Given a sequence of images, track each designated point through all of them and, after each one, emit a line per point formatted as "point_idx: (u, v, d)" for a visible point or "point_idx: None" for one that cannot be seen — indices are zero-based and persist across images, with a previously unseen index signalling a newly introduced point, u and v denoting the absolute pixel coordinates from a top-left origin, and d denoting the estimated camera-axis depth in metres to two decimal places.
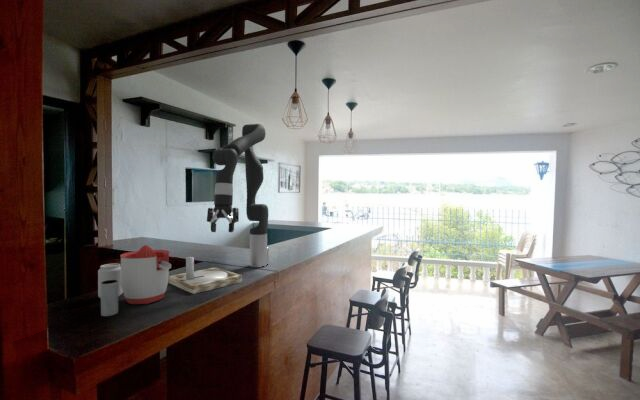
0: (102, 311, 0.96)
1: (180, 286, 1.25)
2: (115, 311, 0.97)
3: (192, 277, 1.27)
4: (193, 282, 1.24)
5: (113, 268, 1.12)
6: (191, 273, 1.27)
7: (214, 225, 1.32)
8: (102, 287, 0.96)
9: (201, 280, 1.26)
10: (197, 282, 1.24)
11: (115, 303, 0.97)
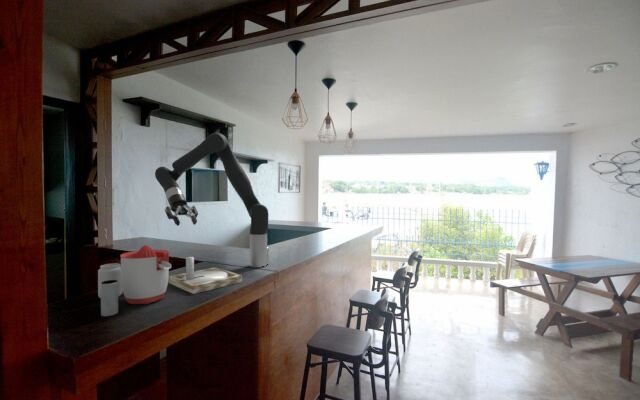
0: (102, 311, 0.96)
1: (180, 286, 1.25)
2: (115, 311, 0.97)
3: (192, 277, 1.27)
4: (193, 282, 1.24)
5: (113, 268, 1.12)
6: (191, 273, 1.27)
7: (192, 219, 1.46)
8: (102, 287, 0.96)
9: (201, 280, 1.26)
10: (197, 282, 1.24)
11: (115, 303, 0.97)
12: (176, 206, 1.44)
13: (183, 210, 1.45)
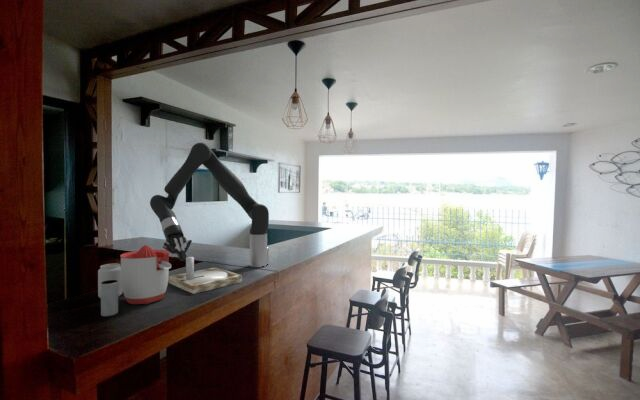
0: (102, 311, 0.96)
1: (180, 286, 1.25)
2: (115, 311, 0.97)
3: (192, 277, 1.27)
4: (193, 282, 1.24)
5: (113, 268, 1.12)
6: (191, 273, 1.27)
7: None
8: (102, 287, 0.96)
9: (201, 280, 1.26)
10: (197, 282, 1.24)
11: (115, 303, 0.97)
12: (172, 238, 1.36)
13: (176, 241, 1.37)
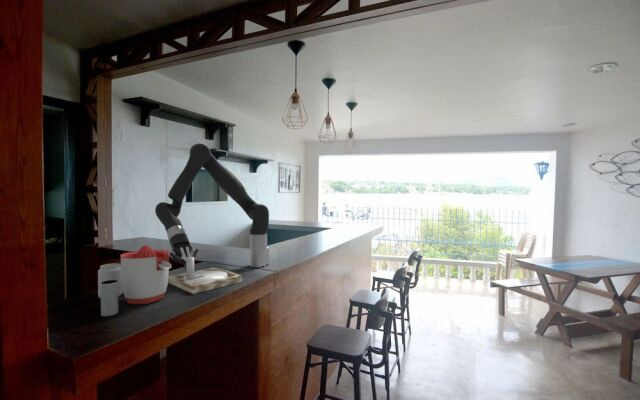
0: (102, 311, 0.96)
1: (180, 286, 1.25)
2: (115, 311, 0.97)
3: (192, 277, 1.27)
4: (194, 282, 1.24)
5: (113, 268, 1.12)
6: (191, 273, 1.27)
7: None
8: (102, 287, 0.96)
9: (202, 280, 1.26)
10: (198, 282, 1.24)
11: (115, 303, 0.97)
12: (178, 248, 1.33)
13: None
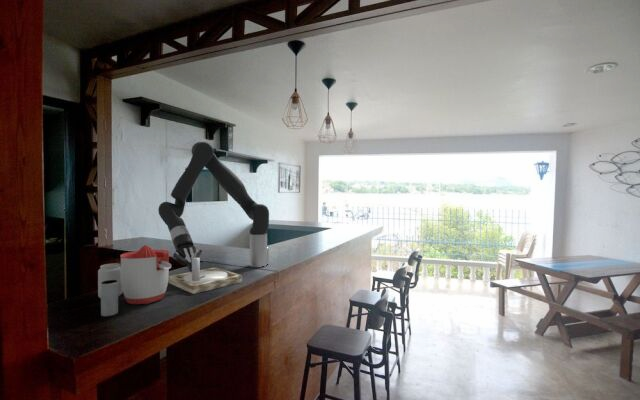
0: (102, 311, 0.96)
1: (180, 286, 1.25)
2: (115, 311, 0.97)
3: (199, 278, 1.26)
4: (204, 282, 1.24)
5: (113, 268, 1.12)
6: (198, 274, 1.26)
7: (191, 265, 1.29)
8: (102, 287, 0.96)
9: (211, 279, 1.27)
10: None
11: (115, 303, 0.97)
12: (181, 248, 1.31)
13: (186, 251, 1.31)
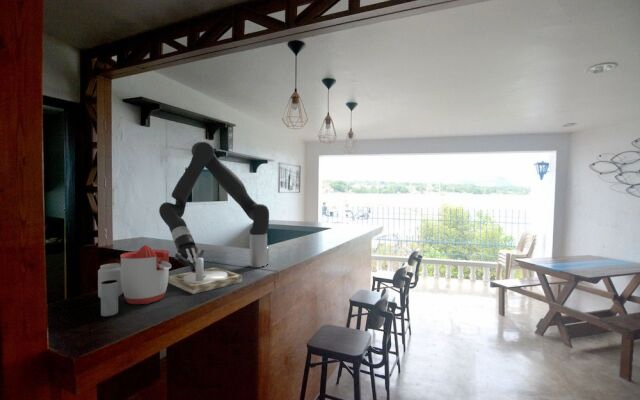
0: (102, 311, 0.96)
1: (180, 286, 1.25)
2: (115, 311, 0.97)
3: (203, 278, 1.26)
4: None
5: (113, 268, 1.12)
6: (203, 274, 1.26)
7: None
8: (102, 287, 0.96)
9: (215, 278, 1.28)
10: None
11: (115, 303, 0.97)
12: (183, 249, 1.30)
13: None
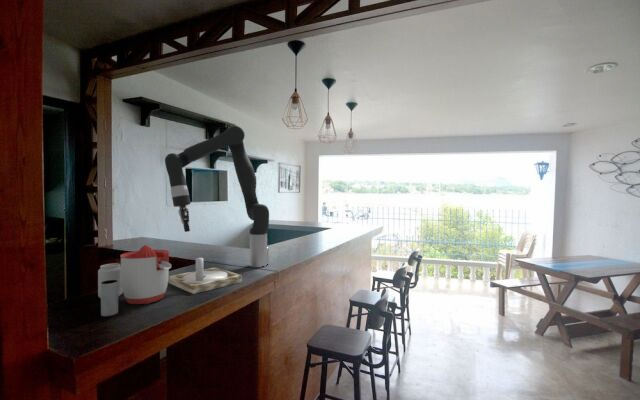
0: (102, 311, 0.96)
1: (180, 286, 1.25)
2: (115, 311, 0.97)
3: (203, 278, 1.26)
4: None
5: (113, 268, 1.12)
6: (203, 274, 1.26)
7: None
8: (102, 287, 0.96)
9: (215, 278, 1.28)
10: None
11: (115, 303, 0.97)
12: None
13: None
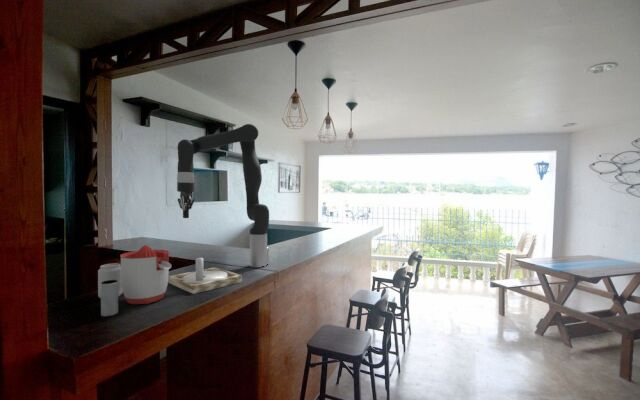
0: (102, 311, 0.96)
1: (180, 286, 1.25)
2: (115, 311, 0.97)
3: (203, 278, 1.26)
4: None
5: (113, 268, 1.12)
6: (203, 274, 1.26)
7: None
8: (102, 287, 0.96)
9: (215, 278, 1.28)
10: None
11: (115, 303, 0.97)
12: None
13: None
